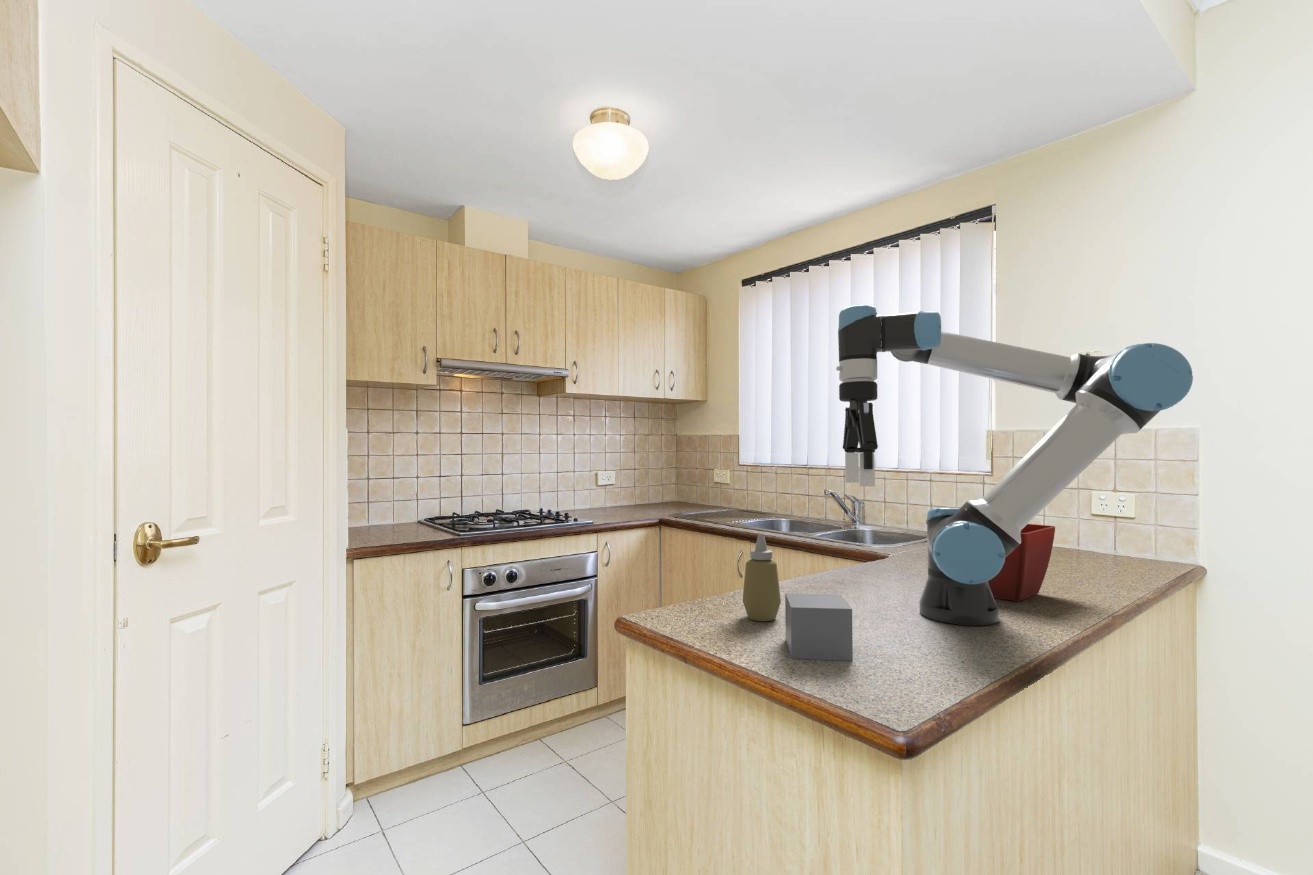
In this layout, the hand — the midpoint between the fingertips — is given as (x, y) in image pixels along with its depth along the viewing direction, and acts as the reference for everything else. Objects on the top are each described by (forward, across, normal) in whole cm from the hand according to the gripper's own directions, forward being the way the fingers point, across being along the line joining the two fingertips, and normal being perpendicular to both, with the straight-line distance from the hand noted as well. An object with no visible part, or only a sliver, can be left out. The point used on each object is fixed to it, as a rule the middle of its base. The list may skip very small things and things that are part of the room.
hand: (859, 484), depth 122 cm
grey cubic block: (+29, +17, -11) cm, 35 cm away
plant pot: (+29, -30, +40) cm, 58 cm away
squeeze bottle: (+29, -2, -20) cm, 35 cm away
